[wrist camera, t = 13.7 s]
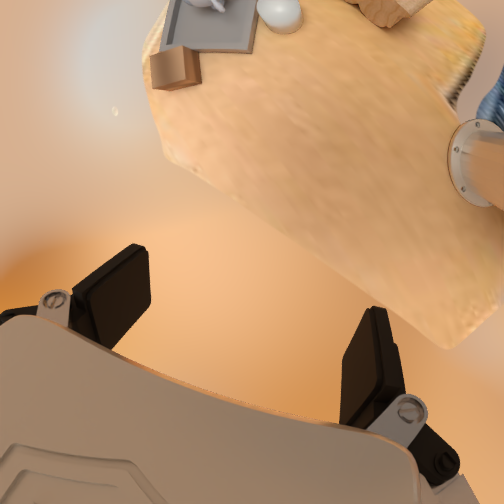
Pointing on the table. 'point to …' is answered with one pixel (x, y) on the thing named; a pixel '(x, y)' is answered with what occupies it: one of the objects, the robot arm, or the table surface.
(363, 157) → the table surface
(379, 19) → the stepped wooden block
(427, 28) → the table surface
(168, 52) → the walnut cube
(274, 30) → the pale grey egg shape
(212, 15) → the tray
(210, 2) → the toy figure
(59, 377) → the robot arm
